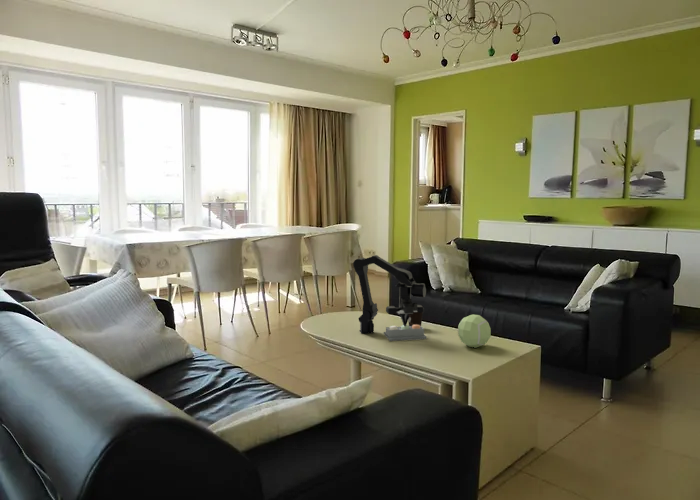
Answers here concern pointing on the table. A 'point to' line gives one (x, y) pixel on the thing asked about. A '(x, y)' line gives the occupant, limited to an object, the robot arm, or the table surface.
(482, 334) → the decorative sphere
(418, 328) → the terracotta button
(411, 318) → the coffee mug
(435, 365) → the table surface
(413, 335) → the grey compartment tray
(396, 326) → the ivory button
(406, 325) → the sage button
